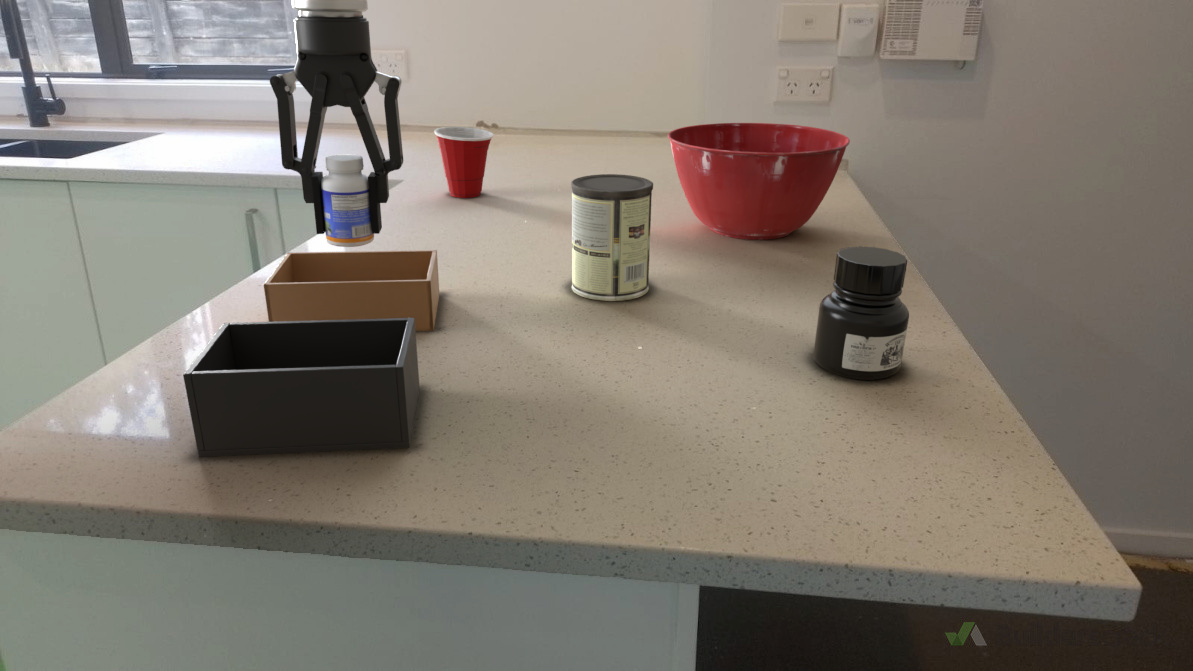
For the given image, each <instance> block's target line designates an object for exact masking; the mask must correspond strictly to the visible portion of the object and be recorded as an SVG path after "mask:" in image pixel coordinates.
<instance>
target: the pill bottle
mask: <svg viewBox="0 0 1193 671" xmlns="http://www.w3.org/2000/svg"><path fill="white" fill-rule="evenodd" d="M364 168H365V167H364V158H363V156H362V155H359V154H354V153H338V154H330V155H326V157H325V169H326V171H327V172H328V174H326V175H325V176H323V179H322V180H321V190H322V201H323V212H324V223H325V233H324V234H325V240H326V242H327V244H329V245H331V246H334V247H341V248H356V247H362V246H366V245H368V244H370V243H372V242H373V241H374V240H375V234H372V222H371V209H370V196H369V183H368V176H367V175H366V174H364V173H363V171H364Z"/></svg>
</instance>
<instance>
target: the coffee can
mask: <svg viewBox="0 0 1193 671" xmlns="http://www.w3.org/2000/svg"><path fill="white" fill-rule="evenodd" d="M570 188H571V290H572V292H573V293H574V294H576V295H578V296H579V297H581V298H585V299H589V300H593V301H594V300H595V301H601V302H624V301H629V300H635V299H638V298H640V297H642V296H644V295H646V294H648V292H649V289H650V287H649V286H650V285H649V280H650V279H649V275H650V252H651V250H650V249H651V248H650V246H651V245H650V244H651V227H652V226H651V222H652V221H651V220H652V219H651V218H652V192H653V189H654V182H652V181H651V180H650V179H647V178H644V177H641V176H636V175H631V174H630V175H629V174H617V173H615V174H614V173H607V174H606V173H605V174H601V173H600V174H591V175H584V176H580V177H577V178H574V179H572V180H571V182H570Z"/></svg>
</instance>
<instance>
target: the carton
mask: <svg viewBox="0 0 1193 671" xmlns="http://www.w3.org/2000/svg"><path fill="white" fill-rule="evenodd" d="M439 277H440V276H439V262H438V250H437V249H417V250H416V249H413V250H359V251H354V250H353V251H351V250H350V251H302V252H301V251H300V252H299V251H298V252H287V253H286V254H285V256H284V257H283V258H282V260H281V261H280V262H279V264H278V265H277V266H276V267H275V269H274V270H273V271H272V273H271V274H270V275H269V277H268V278H267V279H266V281H265V282H264V283H263V290H264V299H265V306H266V313H267V319H268V320H267V321H268V322H275V321H312V320H350V319H388V318H415V331H416V332H423V331H424V332H425V331H427V332H429V331H435V325H436V320H437V313H438V307H439V300H440V280H439V279H440V278H439Z"/></svg>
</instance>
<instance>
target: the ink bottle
mask: <svg viewBox="0 0 1193 671" xmlns="http://www.w3.org/2000/svg"><path fill="white" fill-rule="evenodd" d="M834 265H835V266H834V272H833V283H832V286H833V290H832V291H831V292H830V293H829V294H827V295H825V296H824V297H823V298H822V299H821V301H820V304H819V308H818V315H817V323H816V331H815V339H814V347H813V359H814V361H815V363H816V364H817V365H819V366H820V367H821V368H823V369H824V370H827V371H828V372H831V373H833V374H835V375H837V376H841V377H845V378H849V379H854V380H864V381H866V380H868V381H869V380H879V379H885V378H889V377H891V376H893V375H895V374H897V373H898V372H899V371H900V369H901V366H902V361H903V356H904V351H905V350H904V349H905V345H906V339H907V338H906V337H907V333H908V327H909V326H908V325H909V320H910V312H909V309H908V308H907V306H906V304H905V303H904V302H903V301H902V300H901V298H900V296H901V295H902V294H903V288H904V284H905V278H906V272H907V266H908V259H907V257H906V255H903V254H902V253H900V252H898V251H895V250H891V249H888V248H881V247H875V246H862V245H861V246H848V247H844V248H840V249H839V250H838V251H837V252H836V258H835V264H834Z"/></svg>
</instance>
